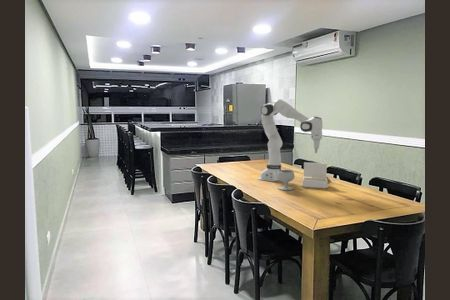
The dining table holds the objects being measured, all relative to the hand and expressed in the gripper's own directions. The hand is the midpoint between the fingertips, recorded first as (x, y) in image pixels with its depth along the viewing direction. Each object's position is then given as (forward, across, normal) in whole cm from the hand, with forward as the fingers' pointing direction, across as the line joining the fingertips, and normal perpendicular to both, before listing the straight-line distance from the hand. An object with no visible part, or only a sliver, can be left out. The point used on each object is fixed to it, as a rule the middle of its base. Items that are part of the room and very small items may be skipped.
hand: (315, 152), depth 273 cm
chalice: (+29, +13, -24) cm, 40 cm away
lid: (+16, -8, 0) cm, 18 cm away
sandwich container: (+30, -30, +7) cm, 43 cm away
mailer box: (+29, -4, 0) cm, 29 cm away
